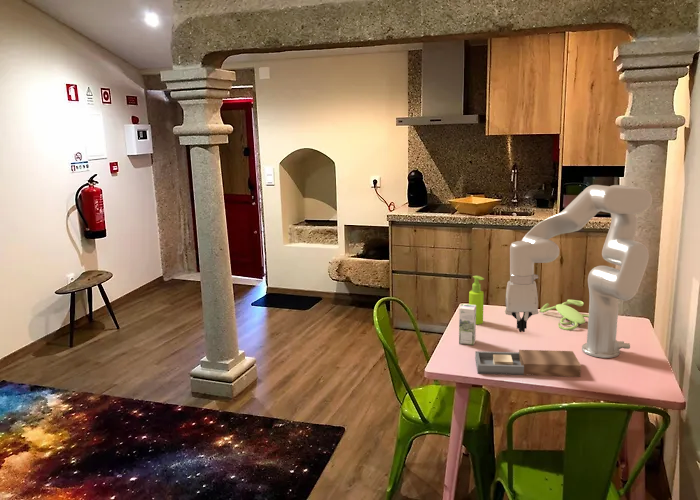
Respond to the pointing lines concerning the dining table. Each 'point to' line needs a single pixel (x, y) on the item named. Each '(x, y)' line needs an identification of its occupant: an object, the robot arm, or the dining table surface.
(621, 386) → the dining table surface
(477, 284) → the soap dispenser
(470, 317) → the syrup box
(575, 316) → the figurine
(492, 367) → the box
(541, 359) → the board
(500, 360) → the tile
